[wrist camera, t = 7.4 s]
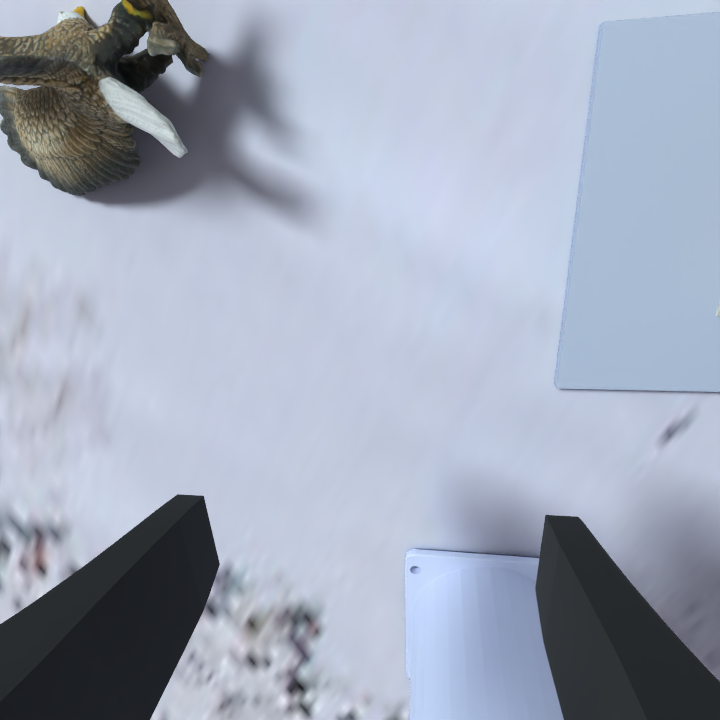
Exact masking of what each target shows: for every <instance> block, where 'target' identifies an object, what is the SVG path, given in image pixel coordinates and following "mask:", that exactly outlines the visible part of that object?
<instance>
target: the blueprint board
mask: <svg viewBox="0 0 720 720" xmlns="http://www.w3.org/2000/svg"><path fill="white" fill-rule="evenodd" d="M554 384H555V386H556V388H562V389H608V390H655V391H701V392H720V12H712V13H700V14H688V15H677V16H665V17H653V18H641V19H629V20H618V21H606V22H603V23H601V24H600V27H599V35H598V43H597V51H596V59H595V67H594V75H593V83H592V90H591V98H590V106H589V114H588V122H587V130H586V138H585V145H584V153H583V161H582V169H581V177H580V185H579V193H578V200H577V208H576V216H575V224H574V232H573V240H572V248H571V255H570V263H569V271H568V279H567V287H566V295H565V303H564V311H563V318H562V326H561V334H560V342H559V350H558V358H557V366H556V373H555V381H554Z"/></svg>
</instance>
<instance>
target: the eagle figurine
mask: <svg viewBox="0 0 720 720" xmlns="http://www.w3.org/2000/svg"><path fill="white" fill-rule="evenodd" d="M84 11H85V9H84V8H83V7H77V8H76V9H75V10H74V11H67V12H60V13H59V18H58V21H57V25H56V26H54V27H52V28H51V29H49V30H48V31H47V32H45V33H43V34H40V35H34V36H25V37H0V83H4V84H13V85H34V86H41V87H37V88H33V89H29V90H22V89H19V88H16V87H9V86H0V114H1V115H2V116H3V120H2V121H1V123H0V129H1V130H2V131H3V133H5V134H6V135H7V136H8V140H7V142H8V145H9V147H10V148H11V149H12V150H14V151H16V152H17V153H19V154H20V155H21V161H22V162H23V164H25V165H26V166H28V167H30V168H35V169H36V168H37V169H38V171H39V175H40V177H41V178H42V179H44V180H49V181H50V182H51V184H52V186H54V187H55V188H57V189H60V190H61V191H64V192H69V193H70V194H72V195H76V194H78V195H84V194H85V192H90V191H94V190H95V189H96V187H102V186H103V185H108V184H110V182H111V181H115V182H119V181H120V180H123V179H128V178H129V176H130V175H132V174H133V173H134V169H135V168H136V167H138V166H139V165H140V163H141V162H140V160H139V158H140V156H141V155H140V153H139V152H138V151H137V150H136V149H135V146H136V141H135V139H134V138H133V137H132V136H131V135H130V134H131V133H132V132H133V131H134V126H135V127H137V128H139V129H141V130H143V131H145V132H147V133H149V134H151V135H152V136H154V137H155V138H156V139H157V140H158V141H160V142H161V143H162V144H163V145H164V146H165V147H166V148H167V149H168V150H169V151H170V152H171V153H172V154H174V155H175V156H177V157H178V158H181V157H182V156H183V155H184V154H187V153H188V150H187V148H186V147H185V146H184V144H183V143H182V141H181V139H180V137H179V136H178V134H177V132H176V129H175V128H174V126H173V124H172V123H171V121H170V120H169V119H168V118H166V117H165V116H164V115H162V114H161V113H160V112H159V111H158V110H157V109H156V108H155V107H153V106H152V105H151V104H150V103H148V101H147V100H146V99H145V98H144V97H143V96H142V95H140V92H141V91H144V90H145V89H146V88H148V87H149V86H150V85H151V84H152V83H153V82H154V80H155V79H156V78H158V75H159V74H163V73H165V71H166V68H167V67H168V66H169V65H170V64H171V63H173V59H172V55H177V57H178V58H179V59H180V60H181V61H182V63H183V64H184V66H185V68H186V69H187V70H188V71H189V72H191V73H192V74H194V75H196V76H198V77H202V76H203V67H202V65H201V64H200V62H199V61H197V60H196V59H198V58H200V59H202V60H204V61H206V60H207V59H208V53H207V51H206V50H205V48H203V47H202V46H200V45H199V44H197V43H196V42H194V41H193V40H192V39H191V38H190V36H189V35H188V34H187V33H186V31H185V30H184V28H183V26H182V24H181V22H180V21H179V19H178V17H177V15H176V13H175V11H174V10H173V8H172V7H171V5H170V4H169V2H168V0H122V1H121V2H120V3H119V4H117V5H116V6H115V7H114V8H113V11H112V14H111V17H110V19H109V21H108V23H107V24H104V25H102V26H101V27H99V28H97V29H95V28H94V27H93V26H92V25H91V24H90V23H88V22H87V21H86V19H85V17H84ZM147 31H148V32H149V37H148V40H147V49H145V50H143V51H142V52H140V53H137V54H135V55H134V56H127V57H124V58H121V57H122V56H123V55H124V54H130V53H132V52H133V50H134V48H135V47H137V46H138V45H139V39H140V38H141V37H142V36H144V34H145V33H146V32H147ZM133 125H134V126H133Z"/></svg>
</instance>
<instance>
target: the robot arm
mask: <svg viewBox="0 0 720 720" xmlns="http://www.w3.org/2000/svg"><path fill="white" fill-rule="evenodd" d="M219 565H220V564H219V560H218V555H217V551H216V547H215V543H214V538H213V534H212V530H211V526H210V521H209V517H208V513H207V509H206V504H205V500H204V496H195V495H176V496H175V497H174V498H172V499H171V500H169V501H168V502H167V503H165V504H164V505H163V506H161V507H160V508H159V509H158V510H156V511H155V512H154V513H152V514H151V515H150V516H149V517H147V518H146V519H145V520H143V521H142V522H141V523H140V524H138V525H137V526H136V527H134V528H133V529H132V530H131V531H129V532H128V533H127V534H126V535H124V536H123V537H122V538H120V539H119V540H118V541H116V542H115V543H114V544H113V545H111V546H110V547H109V548H107V549H106V550H105V551H103V552H102V553H101V554H100V555H98V556H97V557H96V558H94V559H93V560H92V561H90V562H89V563H88V564H86V565H85V566H84V567H82V568H81V569H79V570H78V571H77V572H75V573H74V574H73V575H71V576H70V577H68V578H67V579H66V580H64V581H63V582H61V583H60V584H59V585H57V586H56V587H54V588H53V589H52V590H50V591H49V592H47V593H46V594H45V595H43V596H42V597H40V598H39V599H38V600H36V601H35V602H33V603H32V604H30V605H29V606H27V607H26V608H24V609H23V610H22V611H20V612H18V613H17V614H15V615H14V616H12V617H11V618H9V619H8V620H6V621H5V622H3V623H2V624H0V720H150V718H151V716H152V714H153V712H154V710H155V708H156V706H157V704H158V702H159V700H160V698H161V696H162V694H163V692H164V690H165V688H166V686H167V684H168V682H169V680H170V678H171V676H172V674H173V672H174V670H175V668H176V666H177V664H178V662H179V660H180V658H181V656H182V654H183V652H184V650H185V648H186V646H187V644H188V642H189V639H190V637H191V635H192V633H193V631H194V629H195V627H196V625H197V623H198V621H199V619H200V617H201V615H202V612H203V610H204V607H205V605H206V602H207V599H208V597H209V594H210V591H211V588H212V585H213V582H214V579H215V576H216V573H217V571H218V568H219ZM412 566H417V567H418V568H415V567H412ZM405 594H406V664H407V677H408V678H409V679H410V695H409V716H408V720H720V682H719V681H718V680H717V679H716V678H715V676H714V675H713V674H712V673H711V672H710V671H709V670H708V669H707V668H706V667H705V666H704V665H703V664H702V663H701V662H700V661H699V660H698V658H697V657H696V656H695V655H694V654H693V653H692V652H691V651H690V650H689V649H688V648H687V647H686V646H685V645H684V643H683V642H682V641H681V640H680V639H679V638H678V637H677V636H676V635H675V633H674V632H673V631H672V630H671V629H670V628H669V627H668V626H667V625H666V623H665V622H664V621H663V620H662V619H661V618H660V616H659V615H658V614H657V613H656V612H655V611H654V609H653V608H652V607H651V606H650V605H649V604H648V602H647V601H646V600H645V599H644V598H643V597H642V595H641V594H640V593H639V592H638V591H637V590H636V588H635V587H634V586H633V585H632V584H631V582H630V581H629V580H628V579H627V577H626V576H625V575H624V574H623V573H622V571H621V570H620V569H619V568H618V566H617V565H616V564H615V563H614V561H613V560H612V559H611V558H610V556H609V555H608V554H607V552H606V551H605V550H604V549H603V547H602V546H601V545H600V543H599V542H598V541H597V540H596V538H595V537H594V536H593V534H592V533H591V532H590V530H589V529H588V528H587V526H586V525H585V524H584V523H583V521H582V520H581V519H580V518H579V517H571V516H553V515H546V516H545V523H544V530H543V537H542V544H541V551H540V558H531V557H517V556H503V555H489V554H475V553H461V552H448V551H434V550H420V549H412V550H409V551H408V552H407V553H406V556H405Z"/></svg>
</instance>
